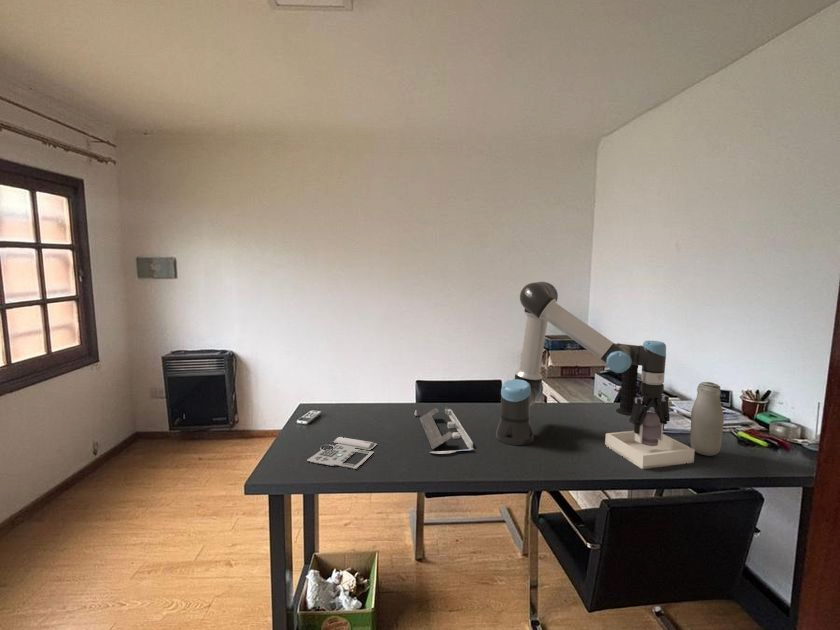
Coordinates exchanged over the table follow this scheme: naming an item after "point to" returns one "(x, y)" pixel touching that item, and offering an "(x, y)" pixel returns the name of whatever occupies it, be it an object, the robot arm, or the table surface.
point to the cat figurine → (651, 429)
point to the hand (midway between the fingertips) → (648, 440)
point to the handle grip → (628, 390)
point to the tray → (649, 450)
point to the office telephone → (343, 452)
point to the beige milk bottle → (707, 420)
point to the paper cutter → (436, 437)
